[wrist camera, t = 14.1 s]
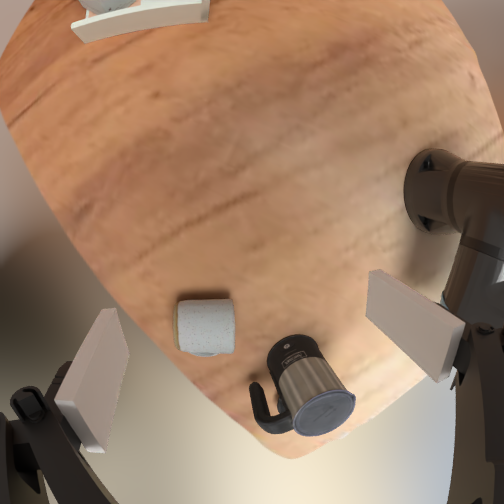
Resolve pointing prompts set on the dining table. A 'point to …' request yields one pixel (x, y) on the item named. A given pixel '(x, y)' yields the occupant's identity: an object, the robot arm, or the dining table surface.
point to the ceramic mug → (204, 326)
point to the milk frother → (302, 391)
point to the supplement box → (105, 5)
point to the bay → (141, 18)
